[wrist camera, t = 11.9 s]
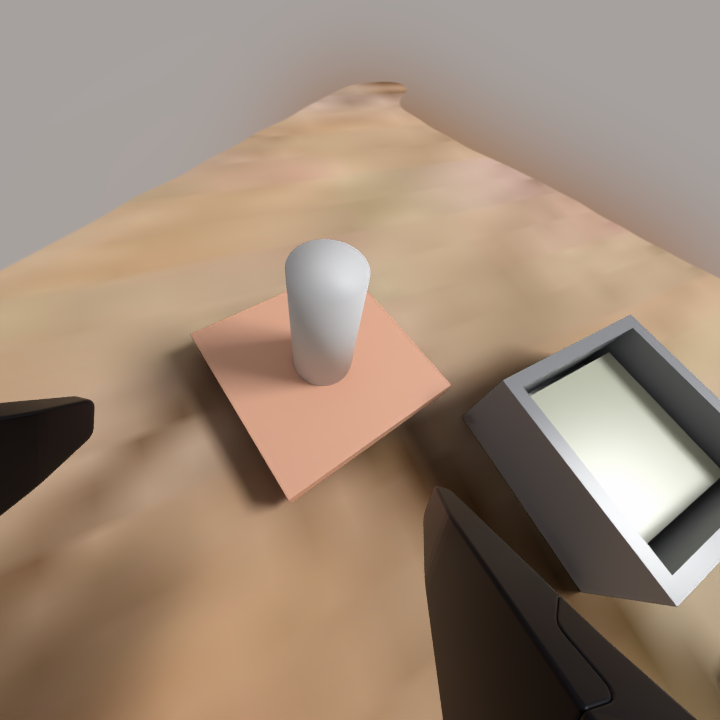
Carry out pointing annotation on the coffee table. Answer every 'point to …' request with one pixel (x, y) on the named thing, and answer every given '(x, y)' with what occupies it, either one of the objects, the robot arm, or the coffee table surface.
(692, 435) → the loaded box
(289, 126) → the coffee table surface
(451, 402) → the coffee table surface
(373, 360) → the lid
